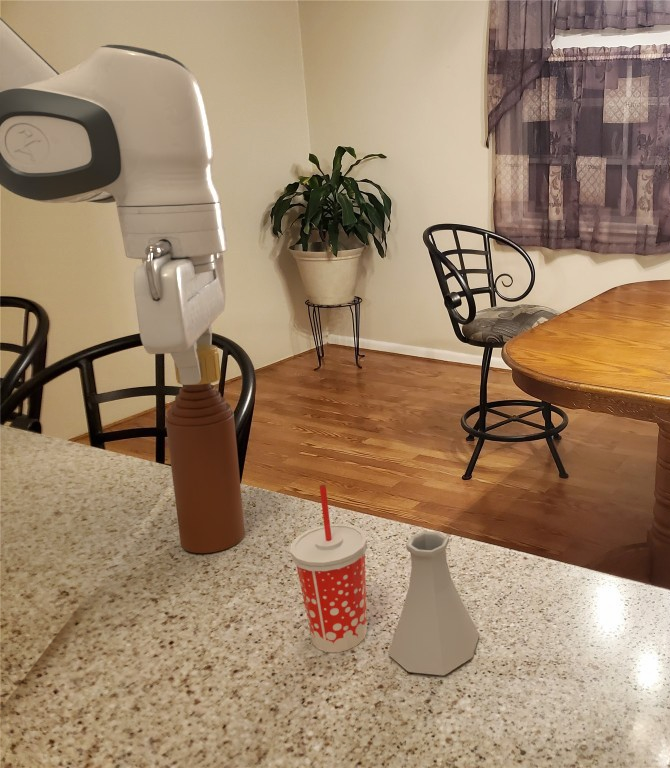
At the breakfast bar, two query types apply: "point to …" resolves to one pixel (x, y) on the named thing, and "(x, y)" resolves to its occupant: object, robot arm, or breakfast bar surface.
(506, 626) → the breakfast bar surface
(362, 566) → the beverage cup
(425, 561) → the flask
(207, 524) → the bottle
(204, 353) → the bottle cap
